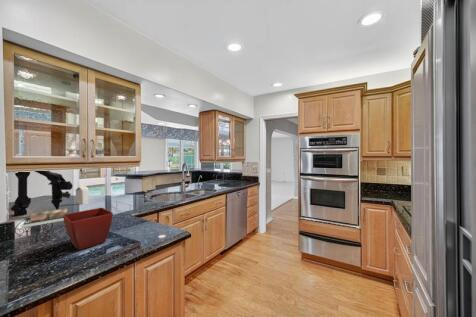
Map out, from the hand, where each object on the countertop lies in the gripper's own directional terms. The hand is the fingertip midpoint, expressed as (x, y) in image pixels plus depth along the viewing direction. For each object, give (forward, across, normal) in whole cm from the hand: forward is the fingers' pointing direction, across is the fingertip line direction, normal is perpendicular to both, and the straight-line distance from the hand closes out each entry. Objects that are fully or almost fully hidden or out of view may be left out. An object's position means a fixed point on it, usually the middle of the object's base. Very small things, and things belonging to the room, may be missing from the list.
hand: (57, 209), depth 161 cm
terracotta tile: (+5, -3, +11) cm, 12 cm away
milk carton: (+6, +29, -18) cm, 35 cm away
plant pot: (+6, -75, -14) cm, 76 cm away
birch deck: (+5, +9, +5) cm, 12 cm away
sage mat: (+5, -6, +5) cm, 9 cm away
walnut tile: (+5, -3, +1) cm, 6 cm away
